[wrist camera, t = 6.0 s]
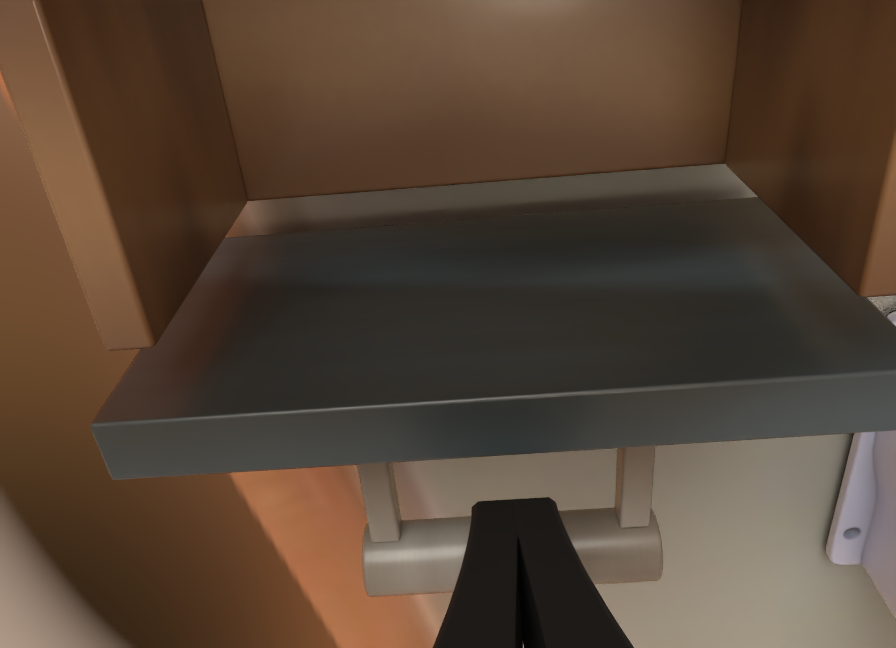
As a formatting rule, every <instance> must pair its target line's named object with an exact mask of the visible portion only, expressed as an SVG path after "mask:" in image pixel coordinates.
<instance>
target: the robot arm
mask: <svg viewBox="0 0 896 648" xmlns="http://www.w3.org/2000/svg"><path fill="white" fill-rule="evenodd" d="M887 318H888V319H889V320H890V321H891V322H892V323H893V324H894V325H895V326H896V311H894V312H892V313H891V314H889V315H888V316H887ZM849 528H850V529H849ZM826 554H827V555H828V557H829V559H830V560H831V562H832V563H834V564H836V565H857V564H862V566H863V567H864V569H865V571H866V572H867V574H868V575H869V577H870V579H871V580H872V582H873V584H874V585H875V587H876V588H877V590H878V592H879V593H880V595H881V597H882V598H883V600H884V602H885V603H886V605H887V606H888V608H889V610H890V611H891V613H892V615H893V616H894V618H895V619H896V430H894V431H879V432H863V433H854V436H853V440H852V444H851V448H850V452H849V456H848V460H847V464H846V468H845V472H844V476H843V480H842V484H841V488H840V492H839V496H838V500H837V504H836V509H835V513H834V517H833V521H832V525H831V529H830V533H829V537H828V541H827V545H826ZM523 644H524V648H634V647H633V645H632V644H631V642H630V641H629V639H628V638H627V636H626V635H625V633H624V632H623V630H622V629H621V627H620V626H619V624H618V623H617V621H616V620H615V618H614V617H613V615H612V614H611V612H610V610H609V609H608V607H607V606H606V604H605V602H604V601H603V599H602V597H601V595H600V594H599V592H598V590H597V589H596V587H595V585H594V583H593V582H592V580H591V578H590V577H589V575H588V573H587V571H586V569H585V567H584V566H583V564H582V562H581V560H580V558H579V556H578V554H577V552H576V550H575V548H574V546H573V544H572V542H571V540H570V538H569V536H568V533H567V531H566V529H565V527H564V524H563V522H562V519H561V517H560V514H559V511H558V508H557V505H556V502H555V501H553V500H552V499H551V498H549V497H546V498H529V499H512V500H495V501H478V502H477V503H476V504H475V505H474V506H472V515H471V524H470V531H469V536H468V541H467V546H466V550H465V554H464V558H463V562H462V566H461V569H460V572H459V576H458V579H457V582H456V585H455V588H454V592H453V595H452V598H451V601H450V604H449V607H448V610H447V613H446V615H445V618H444V620H443V623H442V626H441V628H440V631H439V633H438V636H437V638H436V641H435V644H434V646H433V648H523Z"/></svg>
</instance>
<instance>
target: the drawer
mask: <svg viewBox="0 0 896 648" xmlns="http://www.w3.org/2000/svg"><path fill="white" fill-rule="evenodd" d="M0 71H1V74H2V77H3V79H4V82H5V85H6V87H7V90H8V93H9V95H10V98H11V101H12V103H13V106H14V109H15V111H16V114H17V117H18V119H19V122H20V125H21V127H22V130H23V133H24V135H25V138H26V140H27V143H28V146H29V148H30V151H31V154H32V156H33V159H34V162H35V164H36V167H37V170H38V172H39V175H40V177H41V180H42V183H43V186H44V188H45V191H46V193H47V196H48V199H49V202H50V204H51V207H52V210H53V212H54V215H55V218H56V220H57V223H58V226H59V228H60V231H61V234H62V236H63V239H64V241H65V244H66V247H67V249H68V252H69V255H70V257H71V260H72V263H73V265H74V268H75V271H76V273H77V276H78V279H79V281H80V284H81V287H82V289H83V292H84V295H85V297H86V300H87V302H88V305H89V308H90V311H91V313H92V316H93V318H94V321H95V324H96V327H97V329H98V332H99V335H100V337H101V340H102V343H103V345H104V348H106V350H109V351H113V350H127V349H140V351H139V352H138V353H137V355H136V356H135V358H134V359H133V361H132V362H131V364H130V365H129V367H128V368H127V370H126V371H125V373H124V374H123V376H122V377H121V379H120V380H119V382H118V383H117V385H116V386H115V388H114V389H113V391H112V392H111V394H110V395H109V397H108V398H107V400H106V401H105V403H104V404H103V406H102V407H101V409H100V410H99V412H98V413H97V415H96V416H95V418H94V419H93V421H92V422H91V430H92V433H93V435H94V438H95V440H96V442H97V445H98V447H99V450H100V452H101V454H102V457H103V459H104V461H105V464H106V467H107V469H108V471H109V474H110V476H111V478H112V479H114V480H121V479H136V478H137V479H138V478H153V477H169V476H185V475H200V474H216V473H232V472H248V471H264V470H280V469H295V468H311V467H327V466H343V465H357V468H358V473H359V478H360V484H361V489H362V494H363V499H364V505H365V510H366V515H367V521H368V524H367V525H366V527H365V530H364V535H363V545H362V566H363V578H364V585H365V589H366V592H367V594H368V596H370V597H379V596H397V595H415V594H433V593H451V592H454V588H455V585H456V582H457V579H458V576H459V572H460V569H461V566H462V562H463V558H464V554H465V550H466V546H467V541H468V536H469V531H470V524H471V516H467V517H451V518H434V519H417V520H401V514H400V507H399V501H398V495H397V488H396V482H395V476H394V469H393V463H392V462H406V461H421V460H437V459H453V458H469V457H485V456H500V455H516V454H532V453H548V452H563V451H579V450H595V449H611V448H617V469H616V492H615V508H600V509H584V510H567V511H559V514H560V517H561V519H562V522H563V524H564V527H565V529H566V531H567V533H568V536H569V538H570V540H571V542H572V544H573V546H574V548H575V550H576V552H577V554H578V556H579V558H580V560H581V562H582V564H583V566H584V567H585V569H586V571H587V573H588V575H589V577H590V578H591V580H592V582H593V583H594V584H611V583H629V582H647V581H658V580H659V579H660V578H661V575H662V570H663V552H662V542H661V536H660V531H659V526H658V522H657V519H656V516H655V514H654V512H653V510H652V508H651V498H652V485H653V472H654V459H655V446H658V445H674V444H689V443H705V442H721V441H737V440H752V439H768V438H784V437H800V436H816V435H831V434H847V433H863V432H879V431H894V430H896V326H895V325H894V324H893V323H892V322H891V321H890V320H889V319H888V318H887V317H886V316H885V315H884V314H883V313H882V312H881V311H880V310H879V309H878V308H877V307H876V306H875V305H874V304H873V303H872V302H871V301H870V300H869V299H868V298H867V297H878V296H892V295H896V0H0ZM725 163H726V165H727V166H728V167H729V168H730V169H731V170H732V171H733V172H734V173H735V174H736V175H737V176H738V177H739V178H740V179H741V180H742V181H743V182H744V183H745V184H746V185H747V186H748V187H749V188H750V189H751V190H752V191H753V192H754V193H755V194H756V195H757V196H758V197H752V198H739V199H726V200H713V201H700V202H687V203H674V204H661V205H648V206H635V207H621V208H608V209H595V210H582V211H569V212H556V213H543V214H530V215H517V216H504V217H491V218H478V219H465V220H452V221H439V222H426V223H413V224H400V225H387V226H374V227H361V228H348V229H335V230H322V231H309V232H296V233H283V234H270V235H257V236H244V237H231V238H224V237H225V236H226V234H227V233H228V231H229V230H230V228H231V227H232V225H233V223H234V222H235V220H236V219H237V217H238V216H239V214H240V213H241V211H242V209H243V208H244V206H245V205H246V203H247V201H255V200H268V199H281V198H293V197H306V196H319V195H331V194H344V193H357V192H369V191H382V190H395V189H407V188H420V187H433V186H446V185H458V184H471V183H484V182H496V181H509V180H522V179H534V178H547V177H560V176H572V175H585V174H598V173H611V172H623V171H636V170H649V169H661V168H674V167H687V166H699V165H712V164H725Z"/></svg>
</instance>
